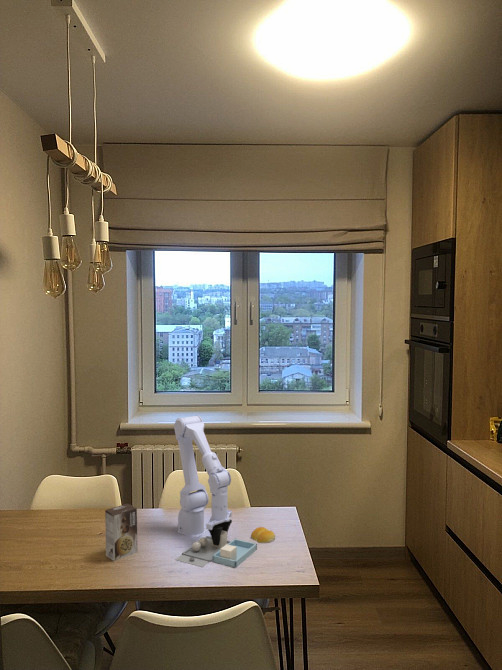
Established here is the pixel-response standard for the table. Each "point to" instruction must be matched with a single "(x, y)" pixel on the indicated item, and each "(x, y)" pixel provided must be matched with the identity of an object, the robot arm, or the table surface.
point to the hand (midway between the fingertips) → (219, 542)
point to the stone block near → (228, 552)
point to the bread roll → (263, 535)
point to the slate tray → (200, 554)
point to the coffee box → (121, 531)
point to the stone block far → (222, 539)
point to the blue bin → (242, 553)
